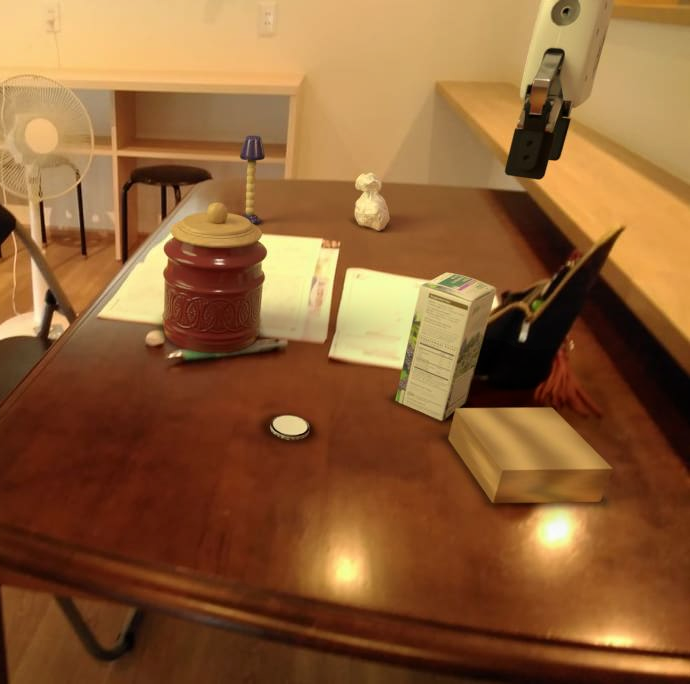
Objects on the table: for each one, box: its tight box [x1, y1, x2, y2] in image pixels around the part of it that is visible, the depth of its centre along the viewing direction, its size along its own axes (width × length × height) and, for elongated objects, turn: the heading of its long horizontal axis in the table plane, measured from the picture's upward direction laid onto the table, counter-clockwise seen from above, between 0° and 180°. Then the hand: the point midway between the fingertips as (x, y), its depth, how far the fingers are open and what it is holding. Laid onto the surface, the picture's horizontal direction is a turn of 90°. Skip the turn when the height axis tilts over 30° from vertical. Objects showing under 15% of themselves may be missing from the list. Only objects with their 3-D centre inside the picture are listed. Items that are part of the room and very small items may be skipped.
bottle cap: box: [269, 414, 311, 441], centre depth 71 cm, size 4×4×1 cm
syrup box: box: [394, 271, 497, 422], centre depth 73 cm, size 6×6×14 cm
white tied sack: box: [354, 172, 391, 232], centre depth 134 cm, size 12×8×11 cm
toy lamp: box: [239, 135, 266, 226], centre depth 132 cm, size 5×5×17 cm
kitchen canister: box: [162, 201, 268, 354], centre depth 87 cm, size 13×13×18 cm
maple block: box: [447, 406, 614, 504], centre depth 65 cm, size 10×10×4 cm
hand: (533, 167), depth 65 cm, fingers open, 9 cm apart
